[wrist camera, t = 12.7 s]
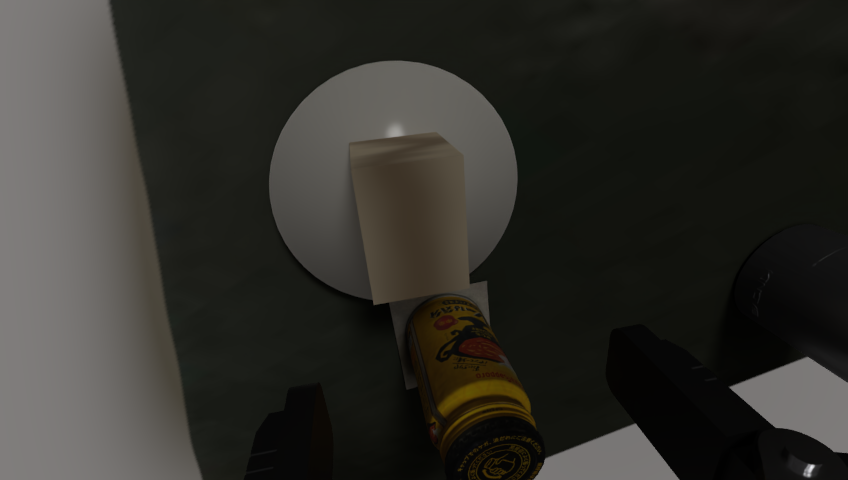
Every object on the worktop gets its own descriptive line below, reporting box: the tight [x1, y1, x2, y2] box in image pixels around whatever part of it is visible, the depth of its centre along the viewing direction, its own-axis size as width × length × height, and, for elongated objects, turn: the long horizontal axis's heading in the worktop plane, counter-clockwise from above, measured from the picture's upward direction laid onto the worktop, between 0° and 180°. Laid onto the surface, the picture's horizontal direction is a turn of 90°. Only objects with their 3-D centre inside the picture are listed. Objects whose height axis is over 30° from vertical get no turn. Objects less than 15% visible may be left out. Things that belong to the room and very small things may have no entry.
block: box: [349, 132, 470, 305], centre depth 22 cm, size 5×7×6 cm
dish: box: [269, 61, 517, 301], centre depth 25 cm, size 15×15×1 cm
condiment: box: [389, 281, 545, 480], centre depth 26 cm, size 7×8×12 cm
